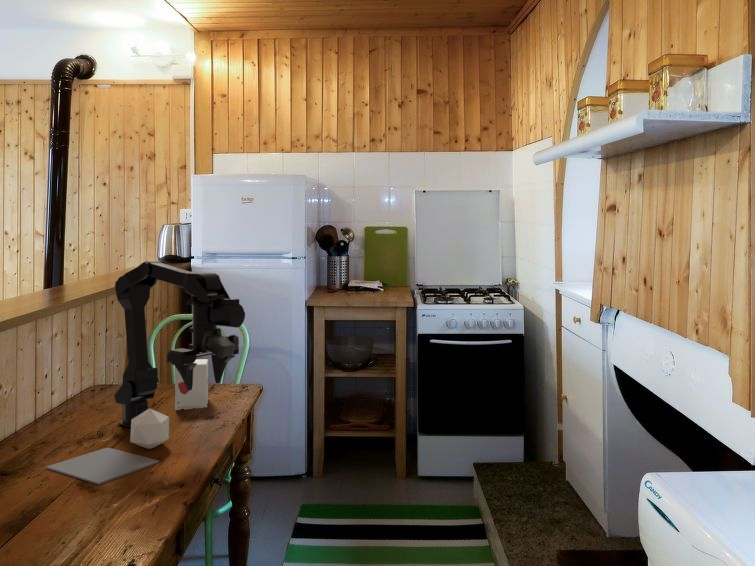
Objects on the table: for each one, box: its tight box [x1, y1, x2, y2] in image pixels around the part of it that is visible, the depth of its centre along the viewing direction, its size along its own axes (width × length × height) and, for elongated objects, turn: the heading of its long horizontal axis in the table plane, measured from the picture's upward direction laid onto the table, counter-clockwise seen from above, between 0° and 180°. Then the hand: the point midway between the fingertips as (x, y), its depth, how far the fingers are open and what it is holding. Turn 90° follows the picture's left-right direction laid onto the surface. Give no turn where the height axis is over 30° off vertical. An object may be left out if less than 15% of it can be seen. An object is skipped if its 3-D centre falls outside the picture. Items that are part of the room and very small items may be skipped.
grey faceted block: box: [129, 408, 170, 450], centre depth 142 cm, size 8×9×10 cm
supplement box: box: [174, 358, 209, 411], centre depth 175 cm, size 9×9×15 cm
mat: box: [45, 447, 160, 486], centre depth 131 cm, size 18×15×1 cm
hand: (204, 386), depth 148 cm, fingers open, 9 cm apart
